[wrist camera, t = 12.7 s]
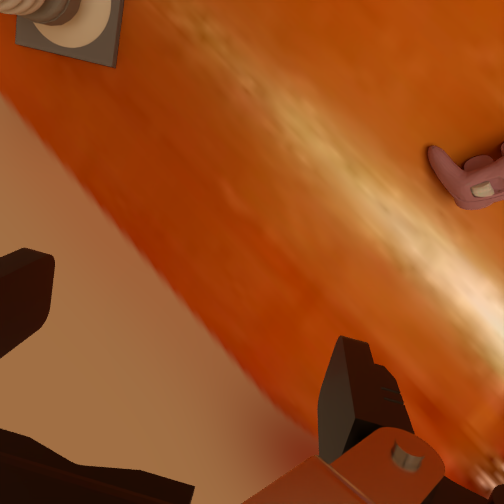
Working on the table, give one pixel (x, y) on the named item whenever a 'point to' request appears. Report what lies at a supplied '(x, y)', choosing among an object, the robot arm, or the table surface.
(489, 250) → the table surface
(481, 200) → the video game controller
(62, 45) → the pad
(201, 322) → the table surface
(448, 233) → the table surface
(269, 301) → the table surface
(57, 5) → the light bulb
